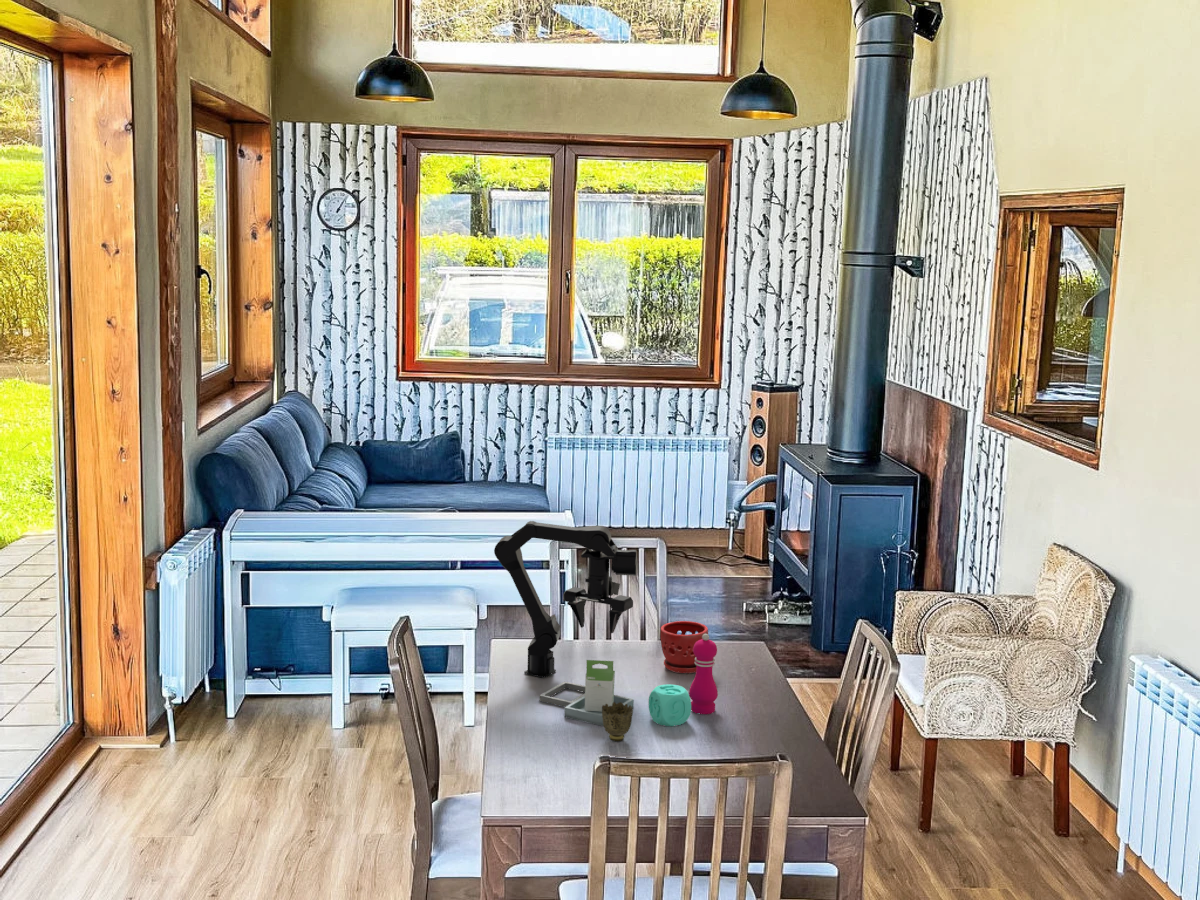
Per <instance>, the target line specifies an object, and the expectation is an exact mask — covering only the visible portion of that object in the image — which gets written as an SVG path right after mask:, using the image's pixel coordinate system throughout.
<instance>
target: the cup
mask: <svg viewBox="0 0 1200 900" xmlns="http://www.w3.org/2000/svg"><path fill="white" fill-rule="evenodd" d="M612 704H613V705H612V706H609V707H608V704H605V706H604V705H602V718H603V725H604V726H603V729H604V730H605V732H606V733H607V734H608V738H609V740H610V742H611V741H612V742H617V743H618V742H619V743H620V742H622V741H624V739H625V735H626V734H627V733H629V731H630V728H631V725H632V719H633V713H634V707H633V708H632V707H631V705H629V706H628V705H627V704H625V706H624V705H623V703H622V702H619V703H617V704H616V703H615V702H613V703H612Z"/></svg>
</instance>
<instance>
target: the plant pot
mask: <svg viewBox="0 0 1200 900" xmlns="http://www.w3.org/2000/svg"><path fill="white" fill-rule="evenodd" d="M678 632H680V633H681V634H680V633H679V634H678ZM687 632H689V633H691V634H687ZM696 632H697V633H696ZM703 634H708V635H709V627H707V626H706V625H705V624H703V623H701V622H696V621H689V620H688V621H687V620H680V621H679V620H678V621H671V622H668V623H665V624H663V625H662V626H660V633H659V635H660V646H661V651H662V654H663V656H664V660H663V665H664V667H665V668H666V669H667V670H669V671H670V672H673V673H678V674H686V673H687V674H686V675H688V674H693V673H696V664H695V658H696V656H695V655H694V653H693V647H694V644H695V643H696V642H697V641H698V640H701V639H702V636H703Z"/></svg>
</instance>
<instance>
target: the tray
mask: <svg viewBox="0 0 1200 900" xmlns="http://www.w3.org/2000/svg"><path fill="white" fill-rule="evenodd" d="M634 700H635V699H634V698H630V697H628V696H627V697H626V696H622V695H621V696H620V695H618V694H617V695H616V694H614V702H615V703H616V704H617V703H619V702H622V703H623V705H624V706H625V704H627V705H628V706H629V705H631V707H632V708H633V709H634ZM563 708H564V709H563V710H564V711H563V712H564V716H563V717H564V718H566V717H567V719H570V718H571V720H575V721H579V722H584V723H586V724H587V723H588V724H592V725H597V726H601V727H604V725H603V718H602V712H597V711H585V696H583V697H581V698H580V699H578V700H576V701H575V702H573V703H571V704H569V705H568V706H566V707H563Z"/></svg>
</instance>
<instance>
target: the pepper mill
mask: <svg viewBox="0 0 1200 900" xmlns="http://www.w3.org/2000/svg"><path fill="white" fill-rule="evenodd" d="M693 653H694V655H695V656H696V658H695V664H696V672H695V675H694V679H693V680H692V682H691V684H690V687H689V691H688V694H689V696H690V700H691V710H692V711H693V712H692V711H691V712H692V713H694V712H695V714H697V713H700V714H699V715H712V714H713V713H715V711H716V703H715V702H716V701H717V698H718V695H719V694H718V687H717V684H716V682H715V679H714V676H713V666H715V657H716V656H717V654H718V647H717V644H716V643H715V641H713V640H711V639H710V636H709V633H708V634H703V636H702V639H701V640H698V641H697V642H696V643H695V644H694V647H693Z"/></svg>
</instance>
